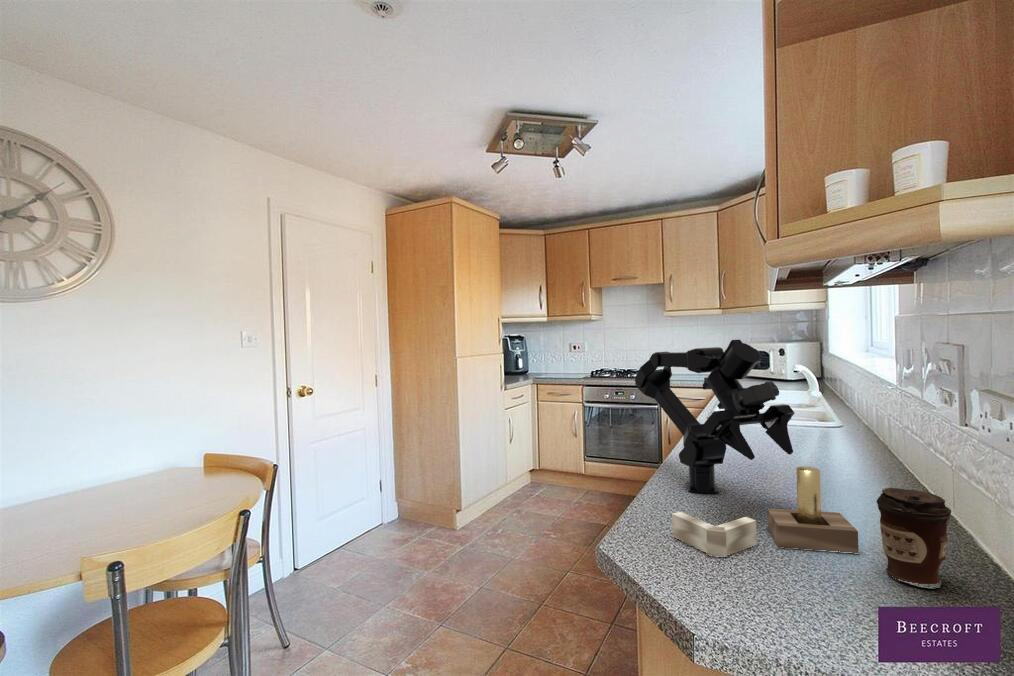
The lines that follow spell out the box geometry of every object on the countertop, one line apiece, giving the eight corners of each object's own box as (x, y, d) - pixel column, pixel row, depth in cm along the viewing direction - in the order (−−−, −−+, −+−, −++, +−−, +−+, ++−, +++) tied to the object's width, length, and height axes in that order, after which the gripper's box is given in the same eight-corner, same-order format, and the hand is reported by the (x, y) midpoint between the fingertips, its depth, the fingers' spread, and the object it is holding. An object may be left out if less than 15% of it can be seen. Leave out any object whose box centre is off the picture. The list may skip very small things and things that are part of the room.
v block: (672, 534, 90) (671, 510, 90) (755, 542, 85) (754, 517, 85) (673, 552, 83) (672, 527, 83) (763, 562, 78) (762, 535, 78)
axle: (795, 535, 87) (793, 466, 87) (818, 537, 86) (816, 466, 86) (801, 544, 84) (799, 471, 83) (825, 546, 83) (823, 472, 82)
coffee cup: (923, 599, 66) (920, 508, 66) (864, 571, 74) (861, 489, 74) (966, 588, 68) (964, 499, 68) (904, 561, 76) (902, 482, 76)
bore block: (767, 528, 90) (766, 508, 90) (840, 534, 87) (839, 512, 87) (778, 547, 83) (778, 525, 83) (858, 554, 79) (858, 531, 79)
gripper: (710, 371, 95) (754, 438, 84) (785, 366, 99) (836, 428, 89) (687, 405, 102) (724, 469, 92) (757, 398, 107) (801, 458, 97)
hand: (772, 456), depth 92 cm, fingers open, 9 cm apart
